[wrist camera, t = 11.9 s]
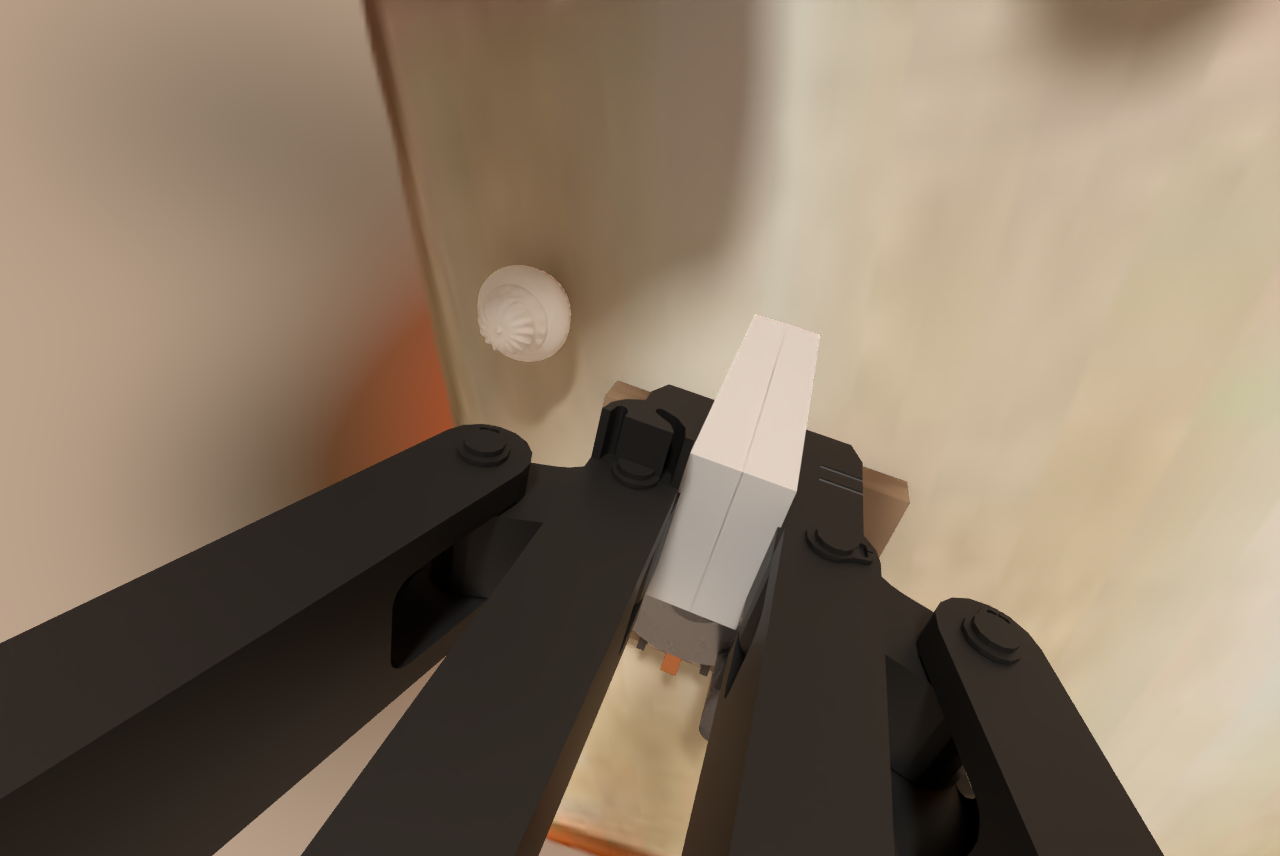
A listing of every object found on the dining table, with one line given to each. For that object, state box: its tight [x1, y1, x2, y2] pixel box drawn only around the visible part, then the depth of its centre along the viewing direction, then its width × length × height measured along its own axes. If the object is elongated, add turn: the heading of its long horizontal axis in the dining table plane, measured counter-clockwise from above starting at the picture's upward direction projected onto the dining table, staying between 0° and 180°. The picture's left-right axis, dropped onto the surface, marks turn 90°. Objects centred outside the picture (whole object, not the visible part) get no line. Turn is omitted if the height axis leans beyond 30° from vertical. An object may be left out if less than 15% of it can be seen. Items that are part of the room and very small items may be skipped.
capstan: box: [632, 594, 743, 741], centre depth 42 cm, size 16×15×8 cm
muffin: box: [477, 265, 572, 362], centre depth 40 cm, size 6×6×7 cm
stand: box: [603, 381, 910, 676], centre depth 46 cm, size 20×20×3 cm
